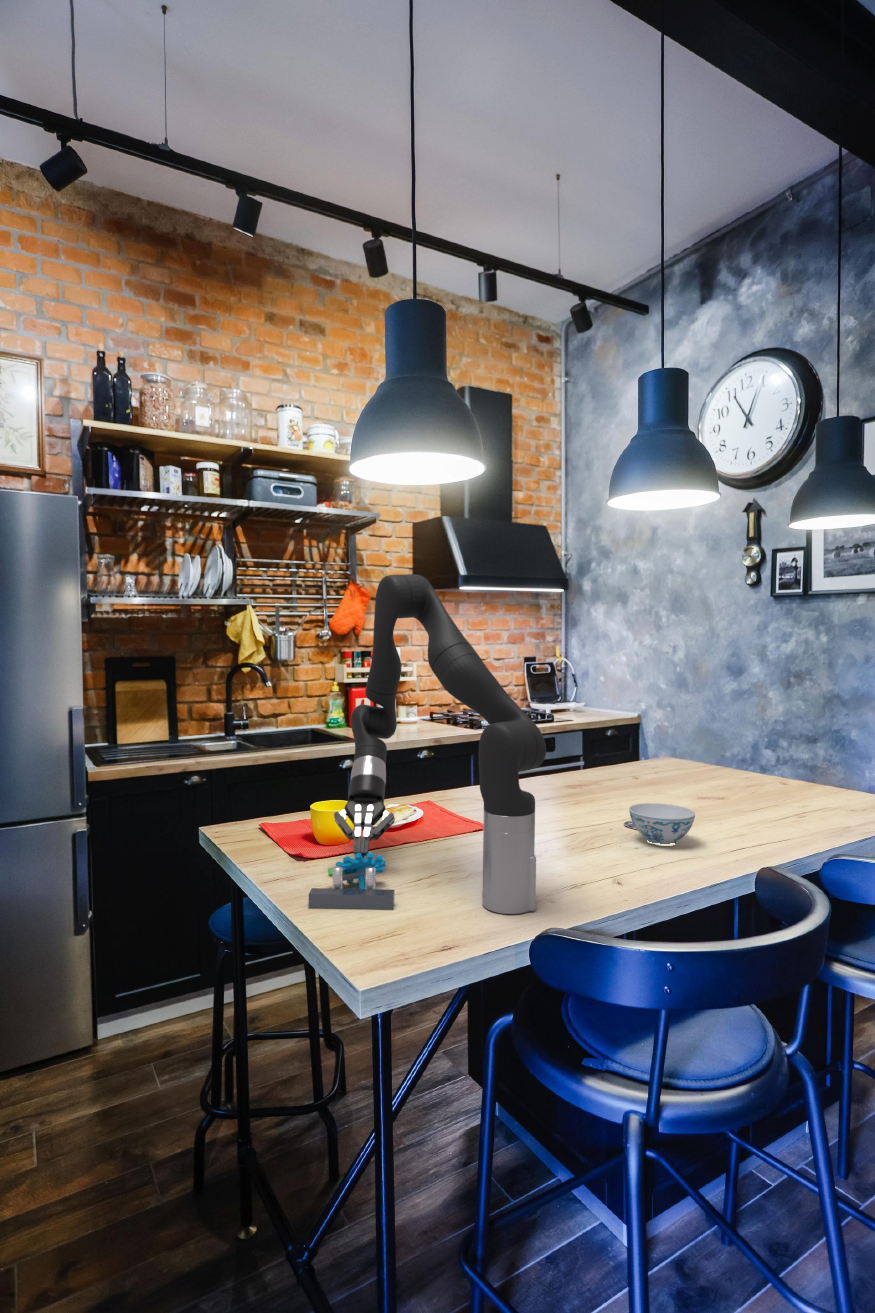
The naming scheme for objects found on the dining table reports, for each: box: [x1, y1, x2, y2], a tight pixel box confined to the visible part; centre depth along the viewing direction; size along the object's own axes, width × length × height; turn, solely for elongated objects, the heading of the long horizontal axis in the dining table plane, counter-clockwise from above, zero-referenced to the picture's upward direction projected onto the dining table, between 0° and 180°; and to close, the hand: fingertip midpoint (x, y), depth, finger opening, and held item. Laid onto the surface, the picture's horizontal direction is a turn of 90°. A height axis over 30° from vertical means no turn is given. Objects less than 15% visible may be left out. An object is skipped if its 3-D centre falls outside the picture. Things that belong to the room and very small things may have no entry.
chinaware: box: [628, 802, 696, 844], centre depth 171 cm, size 15×15×8 cm
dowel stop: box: [308, 865, 396, 911], centre depth 129 cm, size 15×5×6 cm, turn 89°
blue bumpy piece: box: [327, 852, 387, 889], centre depth 137 cm, size 11×6×10 cm
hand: (360, 857), depth 141 cm, fingers closed
